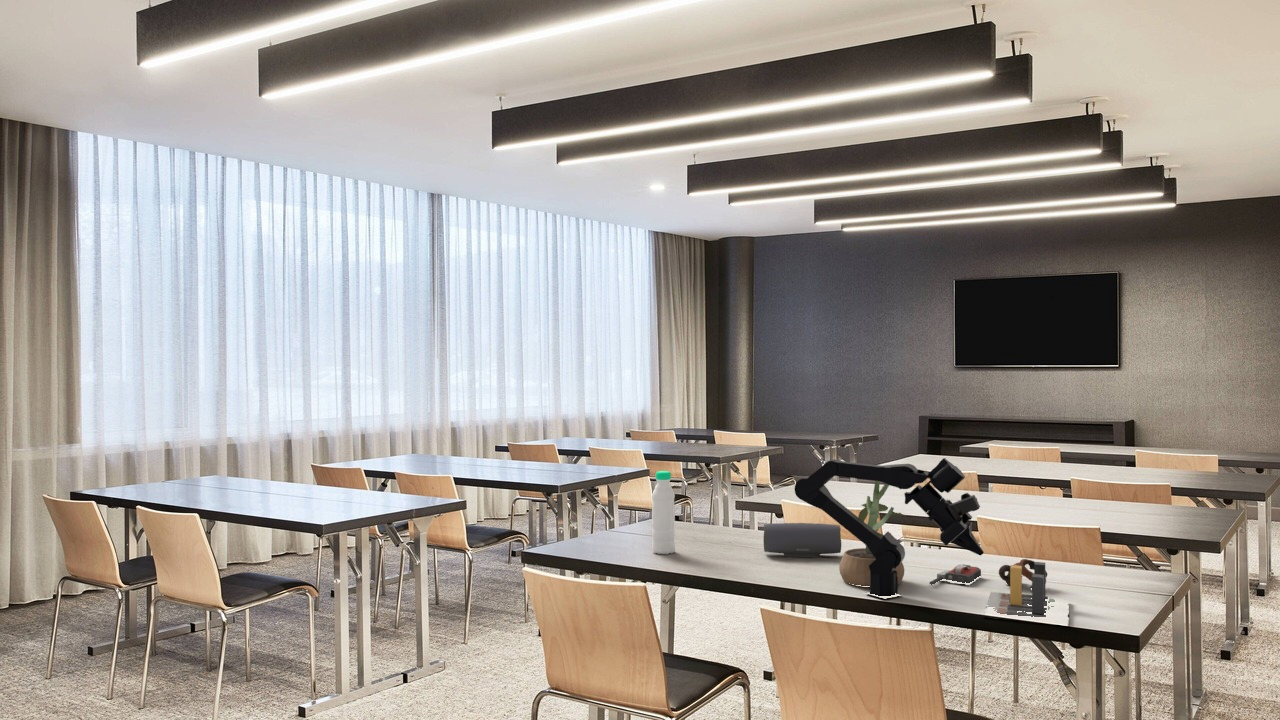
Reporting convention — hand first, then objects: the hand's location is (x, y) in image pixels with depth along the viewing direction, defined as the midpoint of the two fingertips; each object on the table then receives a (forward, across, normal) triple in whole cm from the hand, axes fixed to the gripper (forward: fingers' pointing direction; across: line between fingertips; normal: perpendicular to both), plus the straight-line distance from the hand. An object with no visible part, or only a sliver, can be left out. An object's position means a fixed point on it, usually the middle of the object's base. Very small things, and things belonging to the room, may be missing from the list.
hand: (982, 554), depth 225 cm
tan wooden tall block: (+13, 0, +3) cm, 14 cm away
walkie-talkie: (+3, +23, +15) cm, 28 cm away
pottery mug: (+15, +24, +4) cm, 28 cm away
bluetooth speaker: (-30, +38, +48) cm, 68 cm away
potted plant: (-11, +16, +29) cm, 35 cm away
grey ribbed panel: (+16, 0, +2) cm, 16 cm away
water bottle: (-58, +26, +76) cm, 99 cm away
